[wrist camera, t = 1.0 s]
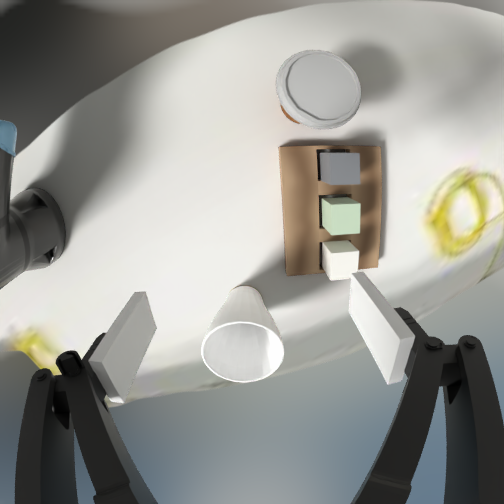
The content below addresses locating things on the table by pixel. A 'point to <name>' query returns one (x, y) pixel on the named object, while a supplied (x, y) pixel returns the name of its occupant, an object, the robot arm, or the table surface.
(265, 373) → the cup
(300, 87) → the disposable coffee cup
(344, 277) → the white block
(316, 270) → the button board
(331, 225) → the pale green block
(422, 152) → the table surface
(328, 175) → the gray button
